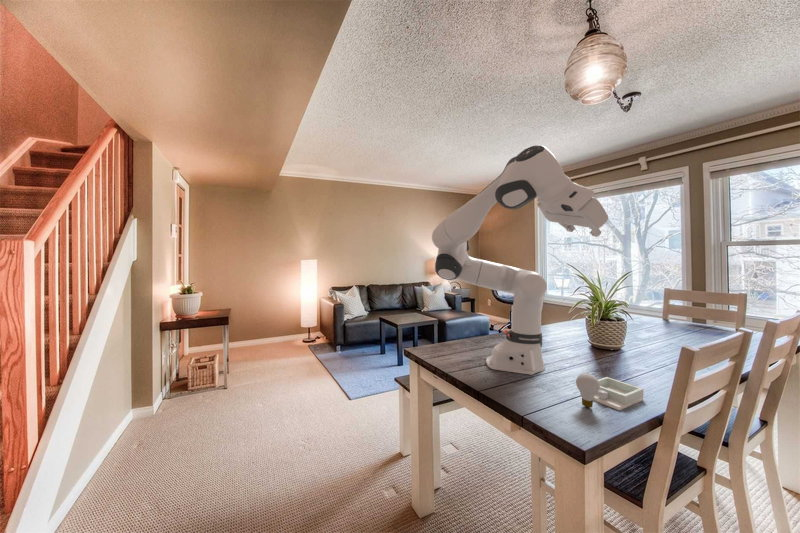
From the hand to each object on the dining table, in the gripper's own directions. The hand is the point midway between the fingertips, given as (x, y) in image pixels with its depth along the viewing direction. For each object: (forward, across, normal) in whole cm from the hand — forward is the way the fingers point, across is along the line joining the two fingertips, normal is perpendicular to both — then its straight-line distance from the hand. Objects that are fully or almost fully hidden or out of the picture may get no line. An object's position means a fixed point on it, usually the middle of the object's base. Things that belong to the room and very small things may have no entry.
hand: (583, 232), depth 86 cm
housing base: (+46, +8, -27) cm, 54 cm away
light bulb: (+36, +12, -35) cm, 52 cm away
